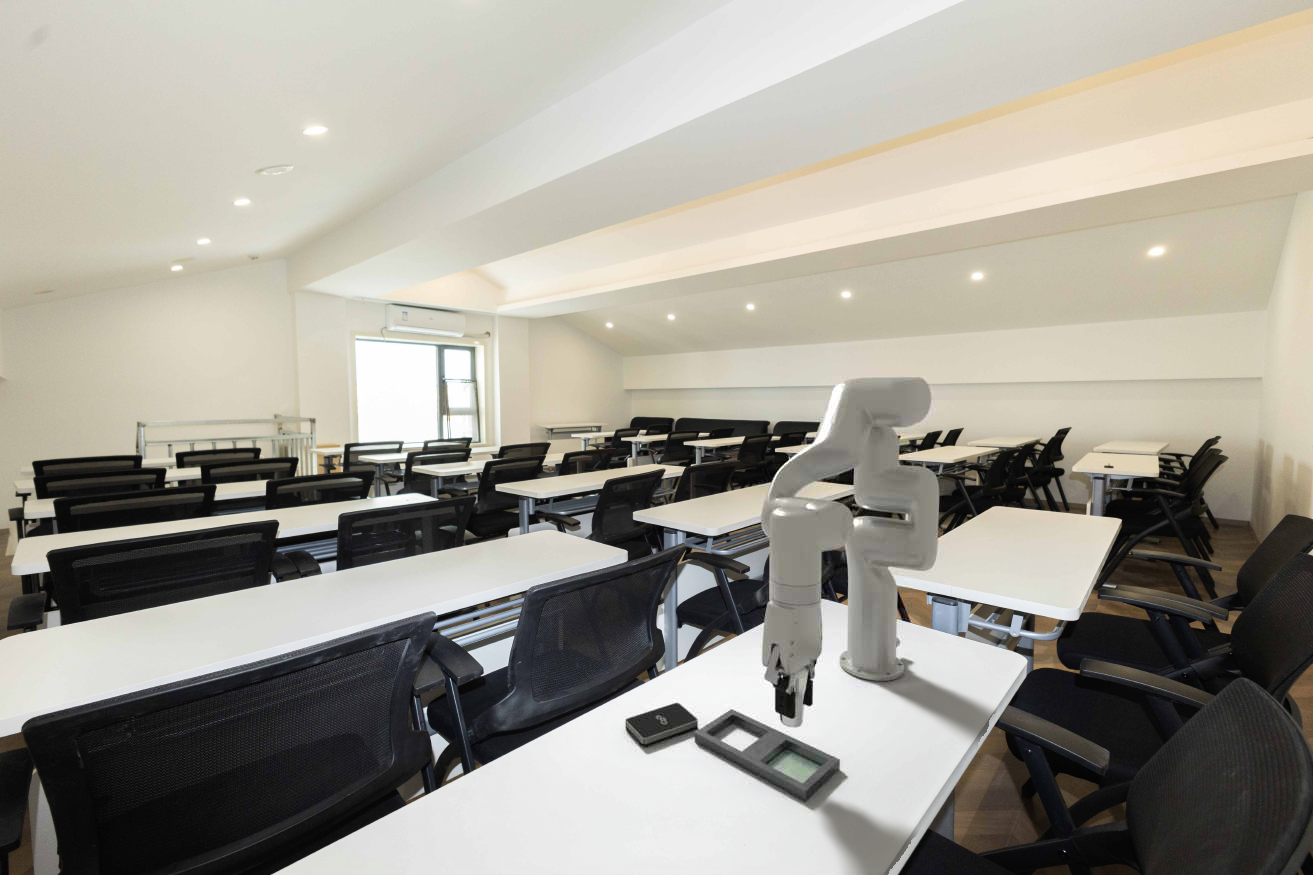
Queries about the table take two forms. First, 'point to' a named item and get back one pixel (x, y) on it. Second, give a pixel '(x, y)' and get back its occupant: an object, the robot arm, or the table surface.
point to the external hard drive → (661, 724)
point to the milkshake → (797, 697)
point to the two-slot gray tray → (772, 755)
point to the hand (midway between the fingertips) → (793, 707)
